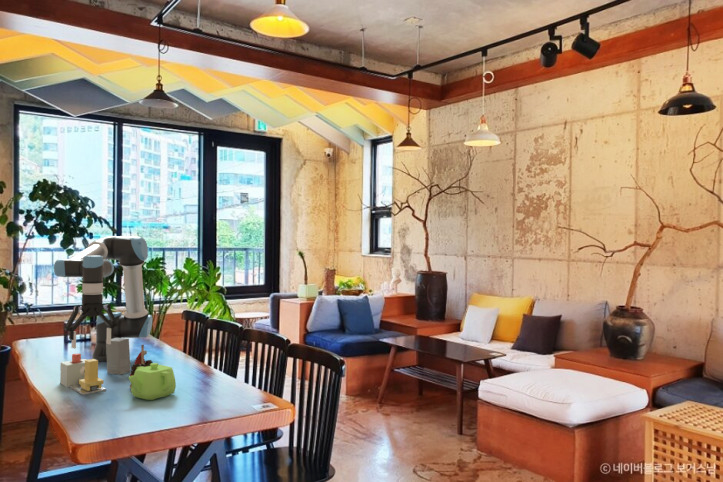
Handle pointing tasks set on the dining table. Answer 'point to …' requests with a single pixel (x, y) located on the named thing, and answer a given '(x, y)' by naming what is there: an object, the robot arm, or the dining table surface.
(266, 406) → the dining table surface
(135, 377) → the teapot
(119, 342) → the skincare box
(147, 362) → the red brown figurine
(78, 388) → the rail base
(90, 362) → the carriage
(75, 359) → the button
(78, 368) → the cabinet
